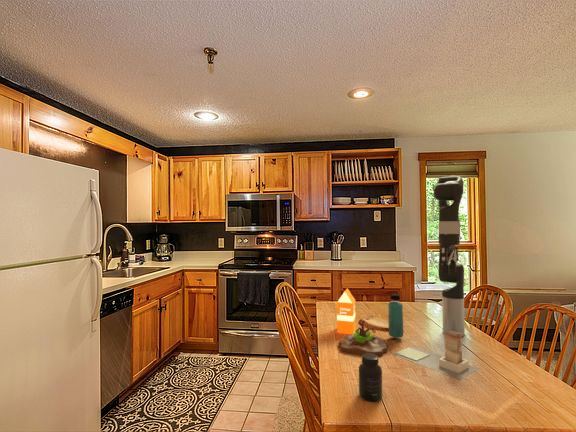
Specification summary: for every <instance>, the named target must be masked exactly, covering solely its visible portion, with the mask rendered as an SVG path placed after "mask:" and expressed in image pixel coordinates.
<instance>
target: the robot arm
mask: <svg viewBox="0 0 576 432" xmlns="http://www.w3.org/2000/svg"><path fill="white" fill-rule="evenodd" d="M463 195H464V180H463V178H462V177H461V176H458V175H456V176H455V175H454V176H452V175H450V176H442V177H441V176H440V177H439V178H438V180H437V184H436V185H435V186H434V187H433V196H434V199H436V200H437V201H438V244H439V246H438V247H439V253H438V255H439V256H438V273H437V274H438V279H439V281H440V282H442V283H451V284H452V283H453V284H456V285H454V286H452V287H448V288H445V289H442V291H441V292H442V293H441V297H442V298H441V299H442V304H441V305H442V307H441V309H442V333H443V334H445V332H447V331H450V330H451V331H455V332H459V333H462V337H464V336H465V332H466V331H465V326H466V325H465V291H464V289H465V287H464V286H465V285H464V282H465V268H464V265H463V264H462V263H458V262H459V247H458V245H460V241H461V240H460V239H461V238H460V237H461V222H460V219H459V212H460V210H459V209H460V205H461V201H462V198H463ZM448 201H450V202H451V201H452V203H451V204H450V205H449V203H448Z"/></svg>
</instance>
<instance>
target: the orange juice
mask: <svg viewBox="0 0 576 432" xmlns="http://www.w3.org/2000/svg"><path fill="white" fill-rule="evenodd" d="M336 322H337V323H336V324H337V325H336V326H337V327H336V329H337V331H336V332H337V334H346V335H350V334H354V330H356V299H355V297H354V296H353V294H352V293H351V291H350V290H349V288H345V291H343V293H342V295H341V296H340V297H339V299H338V300H337V302H336Z"/></svg>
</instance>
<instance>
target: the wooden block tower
mask: <svg viewBox="0 0 576 432" xmlns="http://www.w3.org/2000/svg"><path fill="white" fill-rule="evenodd" d="M462 340H463V336H462V333H459V332H455V331H451V330H450V331H447V332H445V333H444V356H445V360H446V361H449V362H452V363H455V364H459V363H461V362H462V359H463V343H462Z"/></svg>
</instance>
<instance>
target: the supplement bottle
mask: <svg viewBox="0 0 576 432" xmlns="http://www.w3.org/2000/svg"><path fill="white" fill-rule="evenodd" d="M379 363H380V362H379V356H377V355H375V354H370V353H367V354H363V355H361V363H360V364H359V366H358V394H359V396H360V398H361V399H362V400H364V401H366V402H370V403H371V402H372V403H376V402H379V401H380V400H382V398H383V369H382V367H381V365H380V364H379Z"/></svg>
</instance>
